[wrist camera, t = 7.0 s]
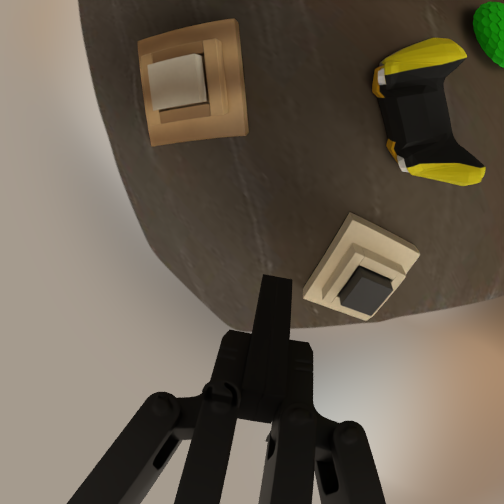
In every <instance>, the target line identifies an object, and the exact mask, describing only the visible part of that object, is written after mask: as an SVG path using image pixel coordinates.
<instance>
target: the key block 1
mask: <svg viewBox="0 0 504 504" xmlns="http://www.w3.org/2000/svg"><path fill="white" fill-rule="evenodd" d="M138 53H139V63H140V73H141V81H142V89H143V97H144V104H145V111H146V117H147V123H148V130H149V136H150V141H151V146H158V145H165V144H171V143H178V142H185V141H193V140H202V139H211V138H221V137H233V136H246V135H247V134H248V133H249V127H248V116H247V105H246V95H245V84H244V74H243V64H242V53H241V43H240V33H239V23H238V22H237V21H236V20H235V19H234V18H233V19H226V20H220V21H214V22H208V23H203V24H198V25H194V26H189V27H185V28H181V29H177V30H173V31H169V32H166V33H162V34H159V35H156V36H152V37H149V38H146V39H143V40H140V41H138ZM190 54H198V55H201V56H203V65H204V75H205V84H206V93H207V101H204V102H198V103H192V104H186V105H180V106H175V107H169V108H164V109H160V110H155V111H153V106H152V99H151V91H150V83H149V75H148V66H147V65H150V64H153V63H157V62H160V61H164V60H168V59H172V58H176V57H181V56H185V55H190Z"/></svg>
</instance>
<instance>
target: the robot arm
mask: <svg viewBox="0 0 504 504" xmlns="http://www.w3.org/2000/svg"><path fill="white" fill-rule="evenodd" d="M291 300H292V279H286V278H281V277H275V276H270V275H264V274H263V277H262V283H261V288H260V293H259V298H258V304H257V309H256V314H255V319H254V325H253V330H252V334H250V333H245V332H240V331H234V330H229V331H228V332H227V333H226V334H225V335H224V336H223V338H222V341H221V345H220V349H219V352H218V355H217V359H216V362H215V366H214V369H213V373H212V377H211V380H210V382H209V383H207V384H206V385H205V386H204V388H203V390H202V394H200V395H198V396H195V397H186V398H176V397H175V396H173V395H172V394H170V393H167V392H157V393H154V394H152V395H150V396H149V397H148V398H147V399H146V401H145V402H144V403H143V405H142V406H141V407H140V409H139V410H138V411H137V412H136V414H135V415H134V416H133V418H132V419H131V420H130V422H129V423H128V424H127V426H126V427H125V428H124V430H123V431H122V432H121V434H120V435H119V436H118V437H117V439H116V440H115V441H114V443H113V444H112V445H111V447H110V448H109V449H108V451H107V452H106V453H105V455H104V456H103V457H102V458H101V460H100V461H99V462H98V464H97V465H96V466H95V468H94V469H93V470H92V472H91V473H90V474H89V475H88V477H87V478H86V479H85V481H84V482H83V483H82V484H81V486H80V487H79V488H78V490H77V491H76V492H75V494H74V495H73V496H72V498H71V499H70V500H69V501H68V503H67V504H140V503H141V502H142V500H143V499H144V497H145V496H146V495H147V493H148V492H149V490H150V489H151V487H152V486H153V484H154V483H155V481H156V480H157V478H158V477H159V475H160V474H161V472H162V471H163V469H164V468H165V466H166V465H167V463H168V461H169V460H170V459H171V457H172V455H173V454H174V452H175V451H176V449H177V448H178V446H179V445H180V443H181V442H182V440H189V439H192V440H191V444H190V447H189V451H188V454H187V458H186V462H185V465H184V469H183V473H182V476H181V480H180V484H179V487H178V491H177V494H176V498H175V502H174V504H219V503H220V499H221V494H222V489H223V485H224V480H225V475H226V470H227V465H228V461H229V456H230V450H231V446H232V441H233V436H234V431H235V425H236V421H237V418H239V419H245V420H250V421H257V422H263V423H271V422H272V428H271V431H270V433H269V435H268V436H267V439H266V441H267V442H268V445H267V452H266V459H265V466H264V473H263V479H262V485H261V491H260V497H259V504H312V494H313V481H314V471H315V475H316V479H317V485H318V490H319V495H320V500H321V504H386V503H385V498H384V495H383V491H382V487H381V484H380V480H379V477H378V473H377V469H376V466H375V463H374V459H373V456H372V452H371V449H370V446H369V443H368V439H367V436H366V433H365V431H364V429H363V427H362V426H361V425H360V424H358V423H357V422H354V421H344V422H342V423H337V422H335V421H332V420H329V419H327V418H325V417H323V416H321V415H320V414H319V413H318V412H317V411H316V409H315V407H314V405H313V351H312V349H311V347H310V345H309V343H308V342H301V341H295V340H289V337H290V320H291Z"/></svg>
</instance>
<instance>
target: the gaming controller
mask: <svg viewBox="0 0 504 504" xmlns="http://www.w3.org/2000/svg"><path fill="white" fill-rule="evenodd" d="M466 58H467V55H466V53H465V51H464V50H463V49H462V48H461V47H460V46H459V45H458V44H456V43H455V42H453V41H452V40H451V39H446V38H430V39H426V40H423V41H421V42H418V43H415V44H413V45H410V46H408V47H405V48H403V49H400V50H399V51H397V52H395V53H393V54H392V55H390V56H388V57H386V58H385V59H383V60H382V61H381V62H380V63H379V67H378V68H376V69H375V72H374V78H373V84H372V92H373V93H374V94H375V95H376V96H377V97H378V101H379V104H380V108H381V112H382V115H383V119H384V123H385V127H386V132H387V136H388V141H387V144H386V146H387V148H388V150H389V152H390V153H391V154H392V156H393V157H394V159H395V160H396V162H397V163H398V165H399V167H400V169H401V170H402V171H403V172H409V173H410V174H412V175H415V176H420V177H424V178H429V179H434V180H438V181H443V182H447V183H452V184H456V185H460V186H466V185H472V184H477V183H479V182H480V181H481V180H482V178H483V176H484V174H485V169H486V168H485V166H484V165H483V164H482V163H481V162H480V161H479V160H477V159H476V158H475V157H474V156H473V155H472V154H470V153H469V152H468V151H467V150H465V149H464V148H463V147H461V146H460V145H459V144H458V143H457V142H456V140H455V139H454V136H453V133H452V129H451V123H450V118H449V112H448V107H447V102H446V98H445V93H444V86H443V83H444V80H445V77H446V76H448V75H449V74H450V73H451V72H452V71H454V70H455V69H456V68H457V67H458V66H459V65H460V64H461V63H462V62H463V61H464V60H465V59H466Z"/></svg>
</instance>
